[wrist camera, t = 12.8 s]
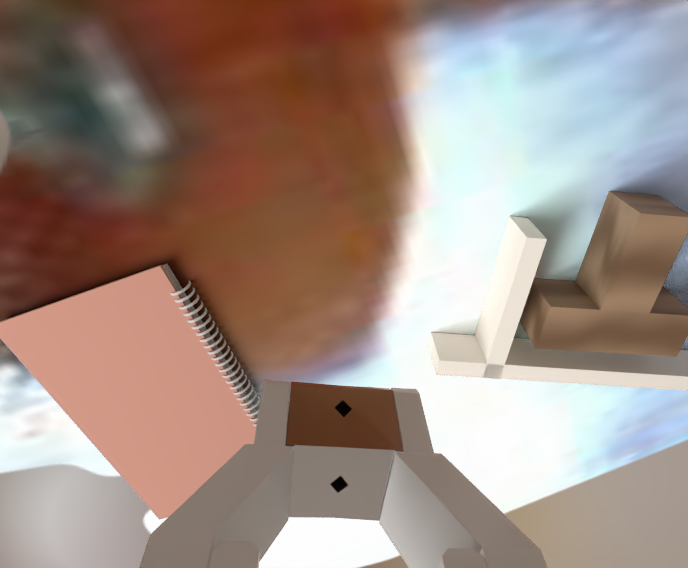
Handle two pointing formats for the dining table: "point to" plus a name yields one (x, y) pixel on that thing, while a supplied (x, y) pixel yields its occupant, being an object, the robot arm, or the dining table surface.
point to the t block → (617, 285)
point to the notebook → (141, 381)
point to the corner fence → (520, 354)
